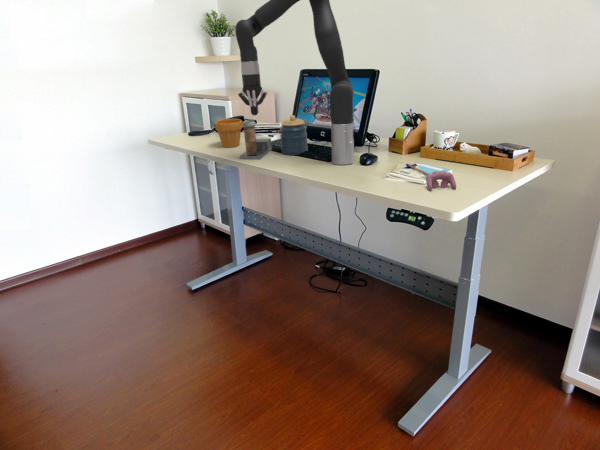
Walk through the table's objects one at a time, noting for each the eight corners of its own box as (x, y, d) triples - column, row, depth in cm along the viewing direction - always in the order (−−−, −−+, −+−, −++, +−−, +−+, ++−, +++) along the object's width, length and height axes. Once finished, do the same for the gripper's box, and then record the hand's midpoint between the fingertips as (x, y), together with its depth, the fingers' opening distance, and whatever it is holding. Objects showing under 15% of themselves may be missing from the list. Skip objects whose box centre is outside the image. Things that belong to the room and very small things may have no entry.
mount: (271, 149, 208) (270, 138, 206) (260, 159, 192) (258, 147, 190) (253, 149, 210) (252, 138, 208) (240, 159, 195) (238, 147, 192)
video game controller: (452, 190, 147) (451, 171, 147) (457, 189, 142) (456, 168, 142) (425, 192, 147) (423, 172, 147) (429, 190, 142) (427, 170, 142)
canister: (313, 151, 201) (312, 114, 194) (295, 157, 193) (292, 118, 186) (294, 147, 210) (292, 112, 202) (275, 153, 201) (273, 116, 194)
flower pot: (247, 142, 226) (244, 118, 220) (241, 148, 213) (238, 123, 208) (222, 143, 227) (218, 119, 222) (214, 149, 215) (211, 124, 209)
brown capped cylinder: (259, 152, 197) (257, 121, 191) (255, 155, 192) (252, 123, 186) (248, 152, 199) (244, 121, 193) (243, 155, 193) (240, 123, 187)
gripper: (268, 71, 174) (271, 113, 181) (239, 72, 177) (243, 113, 185) (262, 73, 168) (266, 116, 175) (232, 74, 171) (237, 116, 178)
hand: (254, 115), depth 180 cm, fingers closed
